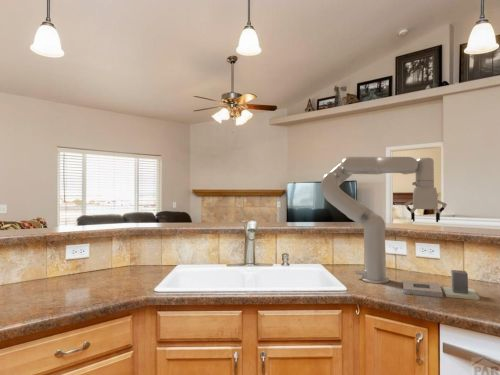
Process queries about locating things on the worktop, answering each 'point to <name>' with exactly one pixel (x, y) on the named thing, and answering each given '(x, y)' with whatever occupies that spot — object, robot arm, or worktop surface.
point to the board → (461, 294)
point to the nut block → (459, 281)
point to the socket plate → (422, 288)
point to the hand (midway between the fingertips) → (425, 221)
